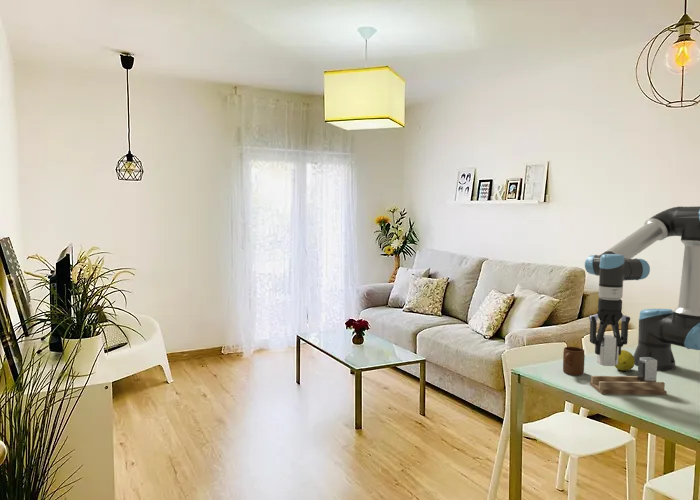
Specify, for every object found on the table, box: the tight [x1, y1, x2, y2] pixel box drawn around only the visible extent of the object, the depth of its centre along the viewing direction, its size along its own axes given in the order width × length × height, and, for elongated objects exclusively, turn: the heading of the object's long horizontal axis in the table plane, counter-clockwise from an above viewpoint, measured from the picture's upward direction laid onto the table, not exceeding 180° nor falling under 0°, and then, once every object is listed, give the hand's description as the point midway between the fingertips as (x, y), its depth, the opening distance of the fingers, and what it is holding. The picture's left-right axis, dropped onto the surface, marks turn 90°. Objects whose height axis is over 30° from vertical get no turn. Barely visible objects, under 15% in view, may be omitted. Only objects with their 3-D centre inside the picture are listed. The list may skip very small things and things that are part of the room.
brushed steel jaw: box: [601, 334, 617, 367], centre depth 185 cm, size 5×4×10 cm
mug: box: [562, 346, 586, 376], centre depth 203 cm, size 12×8×9 cm, turn 138°
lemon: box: [614, 349, 635, 372], centre depth 208 cm, size 11×8×8 cm
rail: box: [589, 375, 668, 396], centre depth 186 cm, size 22×10×4 cm, turn 88°
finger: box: [637, 357, 658, 382], centre depth 186 cm, size 5×4×10 cm
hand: (607, 363), depth 186 cm, fingers closed on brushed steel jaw, 5 cm apart
